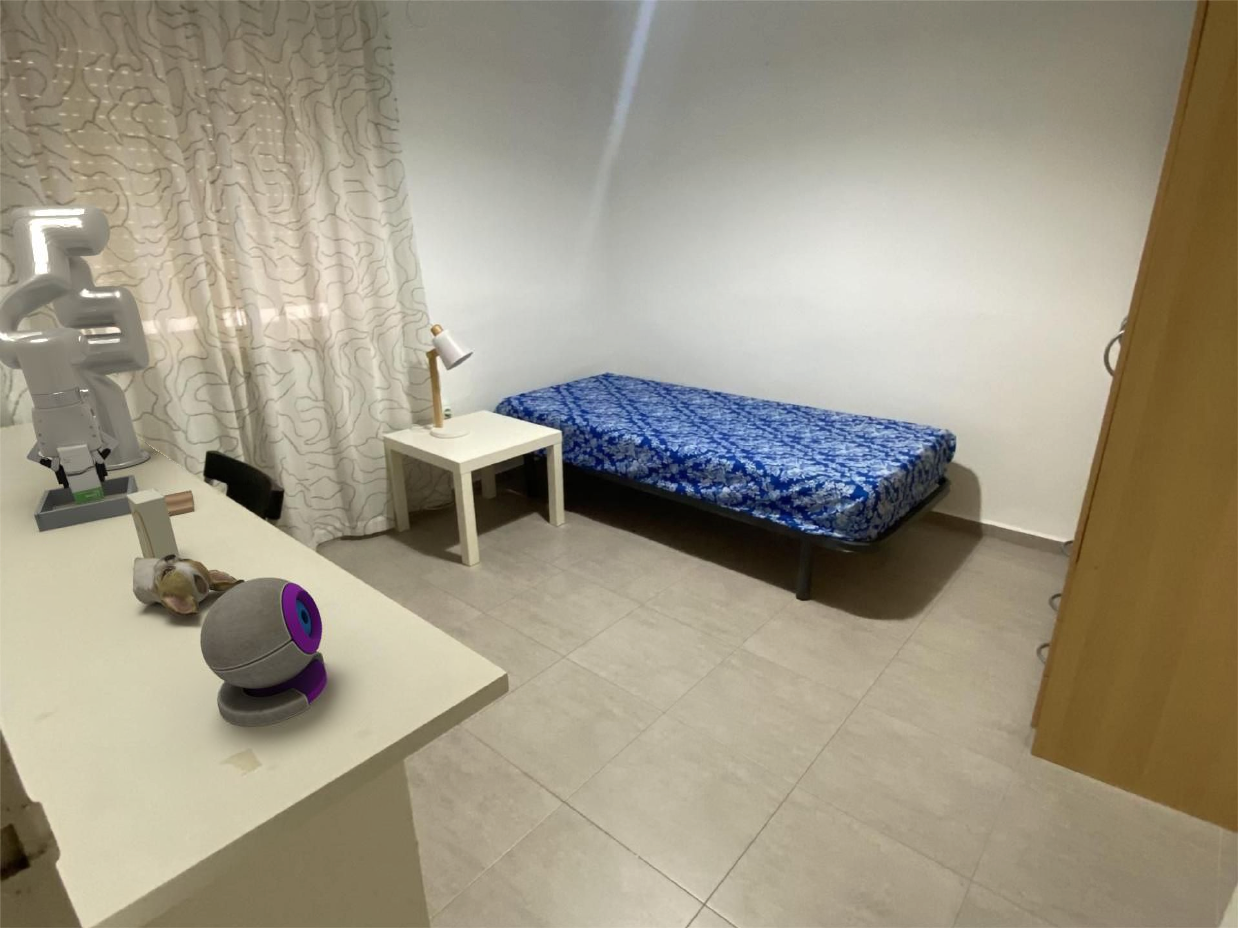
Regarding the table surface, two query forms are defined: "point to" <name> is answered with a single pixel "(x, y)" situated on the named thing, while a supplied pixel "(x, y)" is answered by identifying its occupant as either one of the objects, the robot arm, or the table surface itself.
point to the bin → (86, 512)
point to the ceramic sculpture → (177, 583)
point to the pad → (179, 503)
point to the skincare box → (152, 523)
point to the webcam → (264, 651)
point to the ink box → (81, 473)
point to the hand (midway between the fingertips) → (84, 482)
